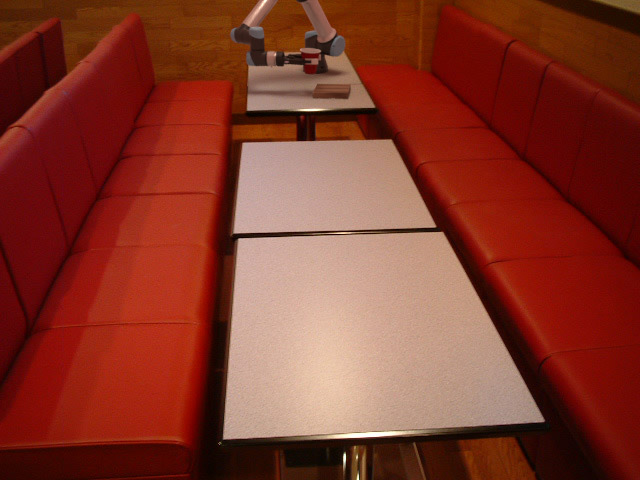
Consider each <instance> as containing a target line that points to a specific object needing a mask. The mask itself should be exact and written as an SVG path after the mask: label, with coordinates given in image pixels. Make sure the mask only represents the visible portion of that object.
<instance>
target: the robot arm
mask: <svg viewBox="0 0 640 480" xmlns="http://www.w3.org/2000/svg"><path fill="white" fill-rule="evenodd" d="M278 1H279V0H258V1H257V3H256V4H255V6H254V7H253V8H252V10H251V11H250V12H249V14H248V15H247V16H246V17H245V18H244V20H243V21H242V22H241V24H240V25H239V26H238V27H234V28H232V29H231V31H230V36H229V37H230V38H231V41H233V42H234V43H237V44H241V45H246V46H249V51H246V56H245V61H246V64H247V65H248V66H249V67H251V66H252V67H270V68H273V67H285V65H294V66H295V65H296V66H302V71H303V72H304V73H305V71H304V67H303V66H305V64H317V70H316V73H315V74H323V73H327V72H328V71H329V65H328V61H327V59H326V56H329V57H333V58H335V57H340V56H341V55H342V54H343V52H344V51H345V49H346V40H345V38H344V36H342V35H339V34H338V32H337V30H336V29H335V28H333V27H332V26H331V24H330V22H329V21H328V18H327V16H326V14H325V11H323V8H322V6H321V4H320V2H319V1H318V0H296V2H297V3H299V4H300V5H301V6H302V8H303V10H304V11H305V13H306V16H307V18H308V19H309V21H310V23H311V24H312V27H313V29H314V30H310V31H306V32H305V34H304V48H314V49H319V50H321V52H320V54H319V58H318V59H302V56H301V53H289V54H287V55H286V54H285V52H284V51H283V50H282V51H273V50H272V51H271V50H269V51H268V50H267V51H266V50H265V49H266V48H265V47H266V46H265V33H264V28H263V26H260V25H261V23H262V22H263V20H265V18H266V17H267V15H268V14H269V13H270V11H271V10H273V8H274V6H275V5H276V4H277V2H278Z"/></svg>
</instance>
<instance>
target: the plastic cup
mask: <svg viewBox="0 0 640 480" xmlns="http://www.w3.org/2000/svg"><path fill="white" fill-rule="evenodd" d="M299 51H300V54H301V56H302V59H318V58H319V54H320V52H321V50H319V49H314V48H305V47H303V48H300V49H299ZM303 67H304V71H305V72H304V71H303V72H304V74H306V75H315V74H317V73H316V70H317V64H305V66H303V65H302V68H303Z"/></svg>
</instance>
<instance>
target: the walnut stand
mask: <svg viewBox="0 0 640 480" xmlns="http://www.w3.org/2000/svg"><path fill="white" fill-rule="evenodd" d="M351 87H352V85H351V84H350V83H316V86H314V90H313V92H312V98H313V99H323V100H326V99H327V100H329V98H330V99H331V98H335V99H336V100H341V99H342V100H346V99H347V100H348V99H349V97H350V93H351V90H352V88H351ZM335 99H334V100H335Z"/></svg>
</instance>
